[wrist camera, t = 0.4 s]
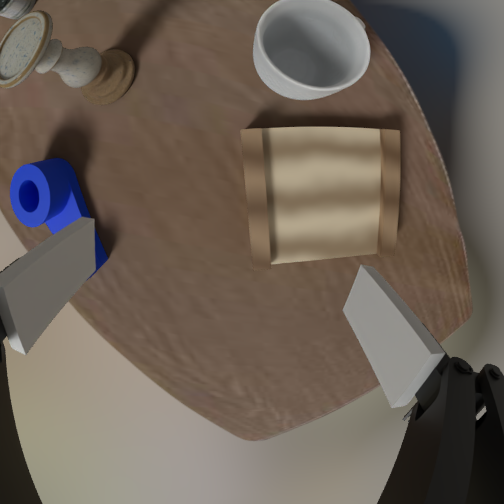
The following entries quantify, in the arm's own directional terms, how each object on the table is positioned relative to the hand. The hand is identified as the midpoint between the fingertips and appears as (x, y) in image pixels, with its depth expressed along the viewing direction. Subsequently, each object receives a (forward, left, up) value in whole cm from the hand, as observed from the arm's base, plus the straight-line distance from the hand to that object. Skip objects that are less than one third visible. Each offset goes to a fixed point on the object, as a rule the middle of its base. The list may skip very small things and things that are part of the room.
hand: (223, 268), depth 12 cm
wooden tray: (+2, +12, -26) cm, 28 cm away
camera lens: (-45, -37, -26) cm, 64 cm away
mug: (-16, +10, -26) cm, 32 cm away
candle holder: (-19, -17, -26) cm, 36 cm away
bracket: (+1, -27, -26) cm, 38 cm away
